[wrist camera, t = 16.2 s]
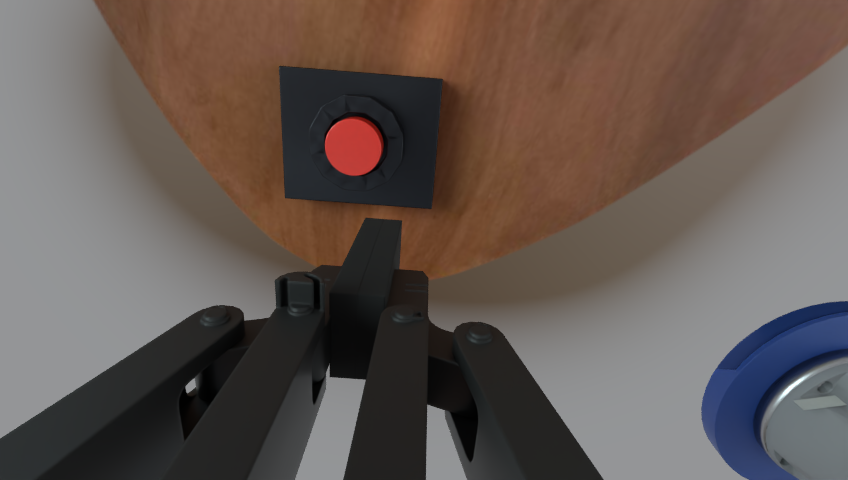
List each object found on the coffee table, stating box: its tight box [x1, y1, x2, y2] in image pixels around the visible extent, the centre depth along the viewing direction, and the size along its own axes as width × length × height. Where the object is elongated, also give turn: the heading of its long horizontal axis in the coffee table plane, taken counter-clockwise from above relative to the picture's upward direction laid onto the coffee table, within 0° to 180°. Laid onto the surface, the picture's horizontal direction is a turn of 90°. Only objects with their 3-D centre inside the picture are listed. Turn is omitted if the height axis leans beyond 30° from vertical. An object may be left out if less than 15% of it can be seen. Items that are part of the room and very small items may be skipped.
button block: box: [279, 66, 443, 209], centre depth 33 cm, size 12×10×4 cm
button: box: [325, 117, 384, 176], centre depth 31 cm, size 4×4×2 cm
